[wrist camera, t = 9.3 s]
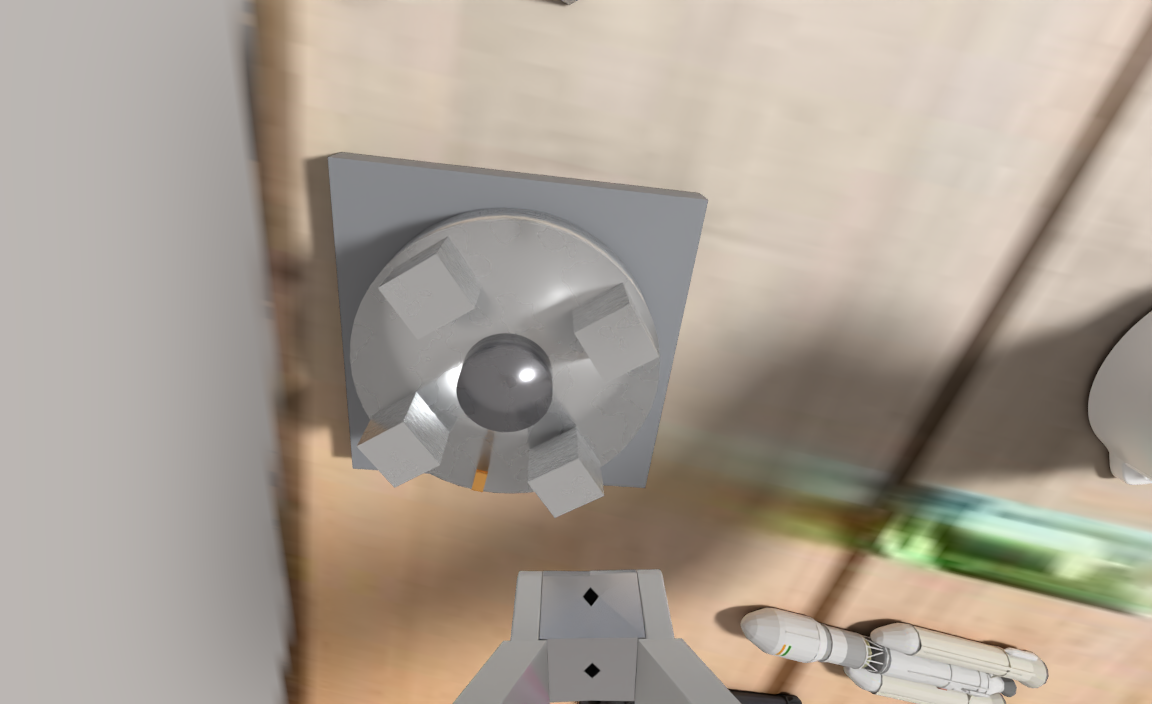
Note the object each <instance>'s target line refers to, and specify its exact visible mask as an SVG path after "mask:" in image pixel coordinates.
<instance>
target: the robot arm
mask: <svg viewBox="0 0 1152 704" xmlns="http://www.w3.org/2000/svg"><path fill="white" fill-rule="evenodd" d="M1088 416H1089V421H1090V424H1091V427H1092V429H1093V431H1094V433H1095V434H1096V436H1097V437H1098V438H1099V439H1100V440H1101V442H1102V443H1103V444H1104V445H1105V446H1106V447H1107V449H1108V451H1109V459H1110V469H1111V473H1112V474H1113V476H1115V477H1116V478H1118V479H1120V480H1121V481H1123V482H1125V483H1127V484H1130V485H1139V484H1150V483H1152V311H1151V312H1150V313H1148V314H1147V315H1146V316H1144V317H1143V318H1142V319H1141V320H1140V321H1139V322H1137V323H1136V324H1135V325H1134V326H1133V327H1132V328H1131V329H1130V330H1129V331H1128V332H1127V333H1126V334H1125V335H1124V336H1123V337H1122V338H1121V339H1120V341H1119V342H1118V343H1117V344H1116V345H1115V347H1114V348H1113V349H1112V350H1111V352H1110V353H1109V355H1108V356H1107V357H1106V359H1105V361H1104V362H1103V364H1102V365H1101V367H1100V369H1099V371H1098V373H1097V375H1096V377H1095V380H1094V382H1093V385H1092V388H1091V391H1090V395H1089V401H1088ZM591 700H592V701H635V704H741V703H740V702H739V701H738V700H737V698H736V697H735V696H734V695H733V694H732V693H731V692H730V691H729V690H728V689H727V688H726V686H725V685H724V684H723V683H722V682H721V681H720V680H719V679H718V678H717V677H716V675H715V674H714V673H713V672H712V671H711V670H710V669H709V668H708V667H707V666H706V664H705V663H704V662H703V661H702V660H701V659H700V658H699V657H698V656H697V655H696V653H695V652H694V651H693V650H692V649H691V648H690V647H689V646H688V645H687V644H686V643H685V641H684V640H683V639H680V638H674V633H673V627H672V622H671V617H670V612H669V607H668V601H667V596H666V591H665V586H664V581H663V575H662V572H661V571H660V569H651V570H599V571H519V574H518V577H517V584H516V593H515V602H514V612H513V621H512V630H511V639H510V641H503V642H502V643H501V644H500V646H499V647H498V648H497V649H496V650H495V652H494V653H493V654H492V655H491V657H490V658H489V659H488V660H487V662H486V663H485V664H484V665H483V667H482V668H481V669H480V670H479V672H478V673H477V674H476V675H475V676H474V678H473V679H472V680H471V681H470V683H469V684H468V685H467V686H466V688H465V689H464V690H463V691H462V693H461V694H460V695H459V696H458V698H457V699H456V700H455V701H454V702H453V704H550V702H569V701H591Z"/></svg>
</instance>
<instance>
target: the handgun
mask: <svg viewBox="0 0 1152 704" xmlns="http://www.w3.org/2000/svg"><path fill="white" fill-rule="evenodd" d="M729 691H730V690H729ZM730 692H731V693H732V694H733V695H734V696H735V697H736V698H737V700H738V701H739V702H740V703H741V704H802V702H801V700H800V699H799V698H798V697H797V696H791V695H775V696H773V695H766V694H759V693H752V692H741V691H730ZM579 704H635V701H592V700H591V701H579Z"/></svg>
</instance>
